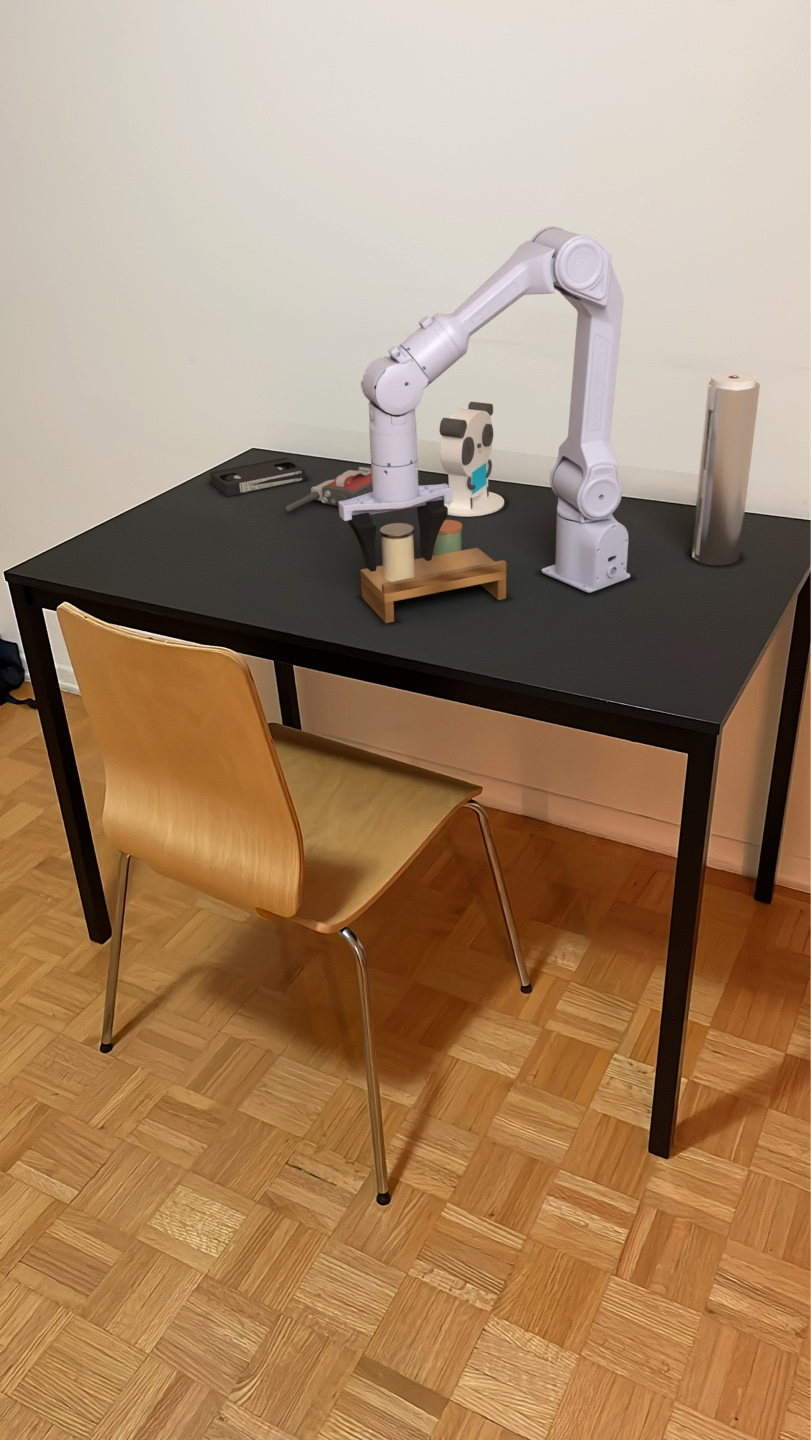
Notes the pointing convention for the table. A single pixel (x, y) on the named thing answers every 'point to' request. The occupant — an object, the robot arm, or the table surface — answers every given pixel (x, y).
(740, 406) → the silver metal cylinder
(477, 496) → the panda figurine
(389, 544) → the cream tin
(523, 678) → the table surface
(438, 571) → the shelf
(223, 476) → the vhs tape
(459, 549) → the sage tin
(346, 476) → the walkie-talkie
